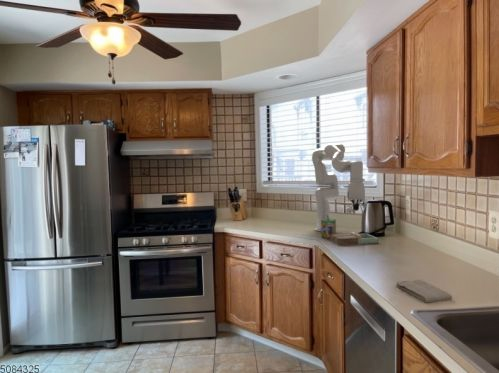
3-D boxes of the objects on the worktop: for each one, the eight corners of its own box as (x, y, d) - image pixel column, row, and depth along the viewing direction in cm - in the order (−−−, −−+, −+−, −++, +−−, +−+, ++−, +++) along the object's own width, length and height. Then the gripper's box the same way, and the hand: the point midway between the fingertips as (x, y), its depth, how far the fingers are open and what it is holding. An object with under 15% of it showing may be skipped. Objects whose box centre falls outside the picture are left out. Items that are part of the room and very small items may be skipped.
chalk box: (335, 238, 228) (335, 216, 227) (321, 237, 231) (321, 215, 230) (336, 235, 236) (336, 214, 235) (323, 234, 239) (322, 213, 238)
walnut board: (330, 240, 223) (330, 233, 223) (347, 239, 225) (347, 232, 225) (339, 245, 208) (339, 238, 208) (358, 244, 210) (358, 237, 210)
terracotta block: (354, 234, 215) (357, 233, 216) (354, 241, 216) (357, 241, 216) (357, 235, 211) (361, 235, 211) (357, 242, 211) (361, 242, 212)
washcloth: (418, 284, 142) (418, 277, 142) (454, 301, 125) (454, 292, 124) (393, 287, 139) (393, 280, 139) (425, 305, 122) (426, 296, 122)
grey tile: (349, 232, 222) (353, 231, 222) (349, 239, 222) (353, 238, 222) (353, 233, 217) (356, 233, 218) (353, 240, 218) (356, 240, 218)
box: (347, 239, 225) (347, 234, 225) (366, 237, 227) (366, 233, 226) (358, 244, 210) (358, 239, 210) (378, 243, 212) (378, 238, 212)
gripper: (365, 180, 218) (364, 208, 220) (342, 181, 216) (342, 209, 218) (370, 181, 211) (370, 210, 212) (347, 181, 209) (347, 211, 211)
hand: (356, 210), depth 215 cm, fingers closed
